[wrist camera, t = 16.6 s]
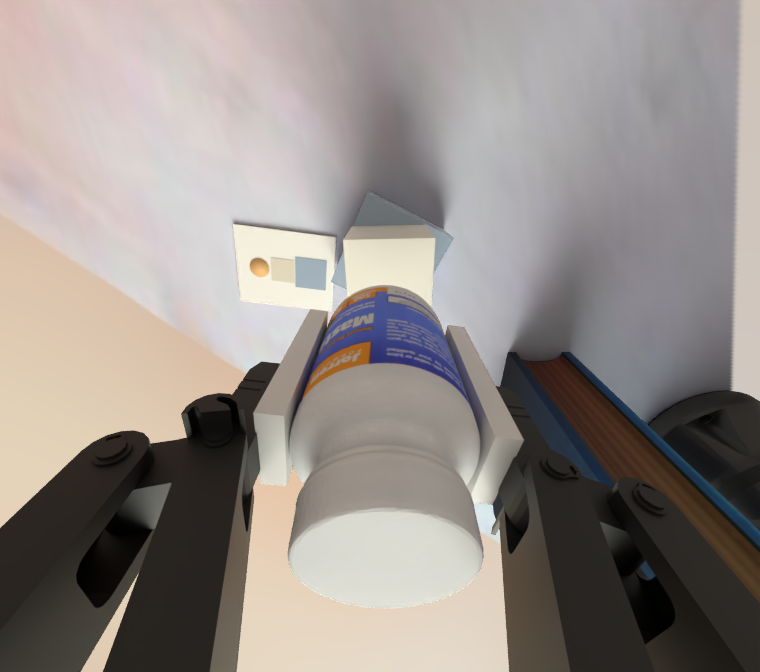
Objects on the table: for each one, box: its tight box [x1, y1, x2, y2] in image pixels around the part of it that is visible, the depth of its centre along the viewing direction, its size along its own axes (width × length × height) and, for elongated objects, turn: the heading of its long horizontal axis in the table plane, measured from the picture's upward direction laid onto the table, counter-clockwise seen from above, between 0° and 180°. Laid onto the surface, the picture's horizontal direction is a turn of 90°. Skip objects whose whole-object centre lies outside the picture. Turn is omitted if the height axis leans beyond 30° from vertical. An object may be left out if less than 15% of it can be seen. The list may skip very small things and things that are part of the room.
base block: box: [331, 191, 453, 289], centre depth 28 cm, size 8×8×5 cm
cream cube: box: [343, 225, 435, 307], centre depth 23 cm, size 6×6×6 cm
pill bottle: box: [288, 285, 483, 608], centre depth 10 cm, size 6×5×10 cm
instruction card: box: [233, 224, 336, 312], centre depth 31 cm, size 10×8×1 cm
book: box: [493, 352, 760, 603], centre depth 28 cm, size 24×9×30 cm, turn 1°
